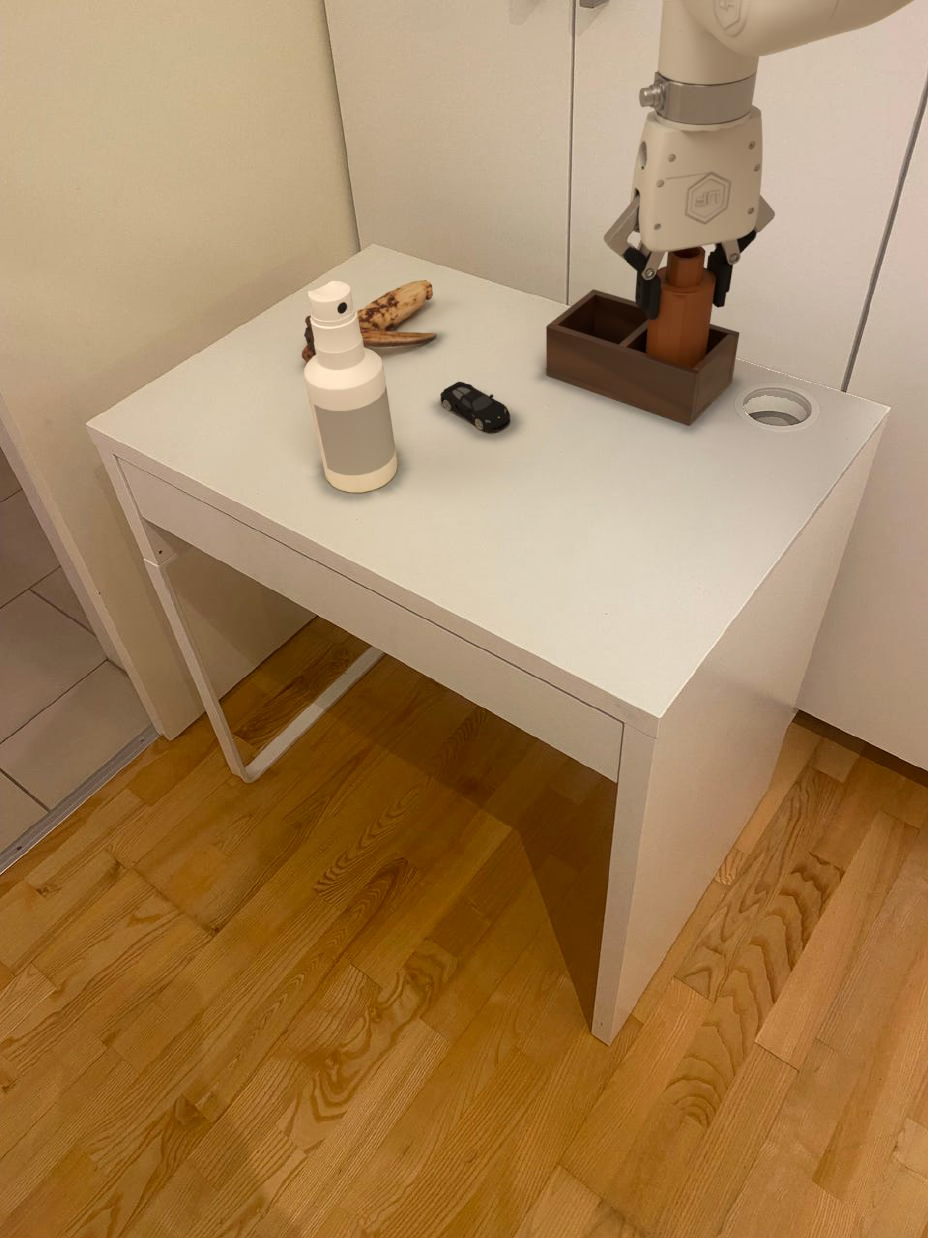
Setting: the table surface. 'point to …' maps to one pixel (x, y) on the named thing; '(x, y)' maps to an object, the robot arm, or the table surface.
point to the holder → (634, 359)
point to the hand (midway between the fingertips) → (681, 304)
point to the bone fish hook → (385, 319)
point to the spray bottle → (348, 396)
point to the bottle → (682, 309)
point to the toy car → (475, 407)
